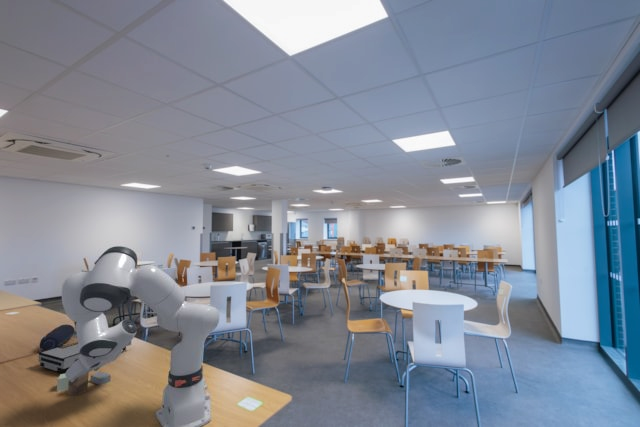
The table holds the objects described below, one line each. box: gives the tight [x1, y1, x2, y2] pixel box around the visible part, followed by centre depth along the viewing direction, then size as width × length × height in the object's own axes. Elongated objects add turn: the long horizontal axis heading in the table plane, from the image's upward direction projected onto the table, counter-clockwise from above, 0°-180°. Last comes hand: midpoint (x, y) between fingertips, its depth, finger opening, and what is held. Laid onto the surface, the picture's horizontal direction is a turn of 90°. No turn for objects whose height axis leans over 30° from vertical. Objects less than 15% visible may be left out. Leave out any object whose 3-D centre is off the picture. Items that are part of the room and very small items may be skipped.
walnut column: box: [67, 372, 90, 397], centre depth 118 cm, size 4×4×8 cm
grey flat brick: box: [89, 370, 112, 386], centre depth 127 cm, size 8×4×3 cm, turn 64°
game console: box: [37, 340, 132, 374], centre depth 150 cm, size 21×32×8 cm, turn 159°
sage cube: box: [56, 373, 69, 392], centre depth 122 cm, size 5×5×5 cm
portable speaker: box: [39, 324, 75, 351], centre depth 168 cm, size 25×10×10 cm, turn 25°
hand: (84, 374), depth 117 cm, fingers open, 8 cm apart
